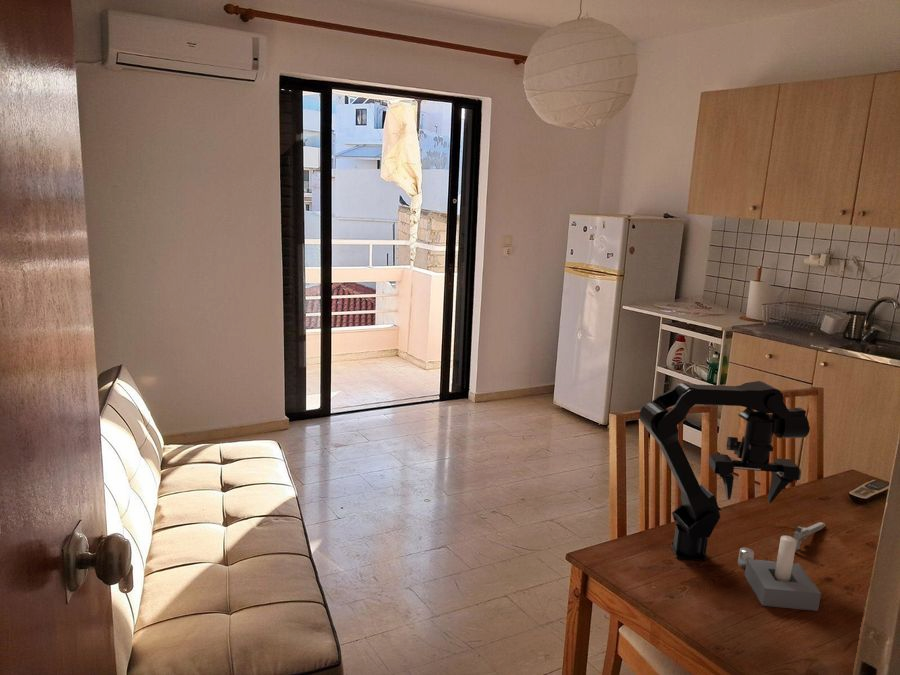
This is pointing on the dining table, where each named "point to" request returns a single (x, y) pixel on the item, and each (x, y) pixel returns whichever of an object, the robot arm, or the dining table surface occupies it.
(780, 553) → the ivory pin
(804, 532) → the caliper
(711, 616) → the dining table surface
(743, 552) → the short stub
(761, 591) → the hole block
